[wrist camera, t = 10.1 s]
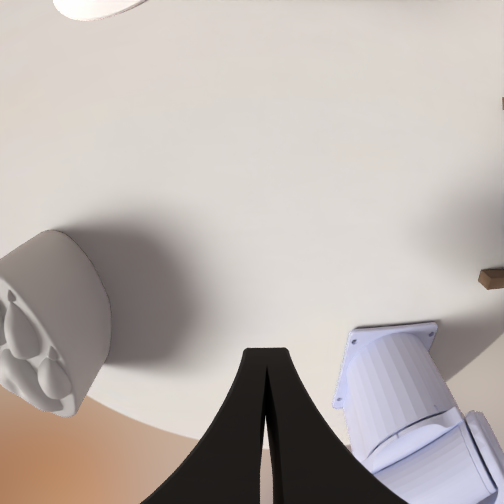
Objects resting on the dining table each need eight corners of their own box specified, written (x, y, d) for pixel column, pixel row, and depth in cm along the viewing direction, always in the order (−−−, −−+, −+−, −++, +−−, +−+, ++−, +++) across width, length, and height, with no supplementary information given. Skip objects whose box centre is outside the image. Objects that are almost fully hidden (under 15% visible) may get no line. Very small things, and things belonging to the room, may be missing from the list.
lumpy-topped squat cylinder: (27, 332, 24) (-17, 386, 16) (15, 215, 19) (-59, 258, 11) (111, 371, 25) (77, 442, 17) (117, 251, 20) (48, 322, 12)
